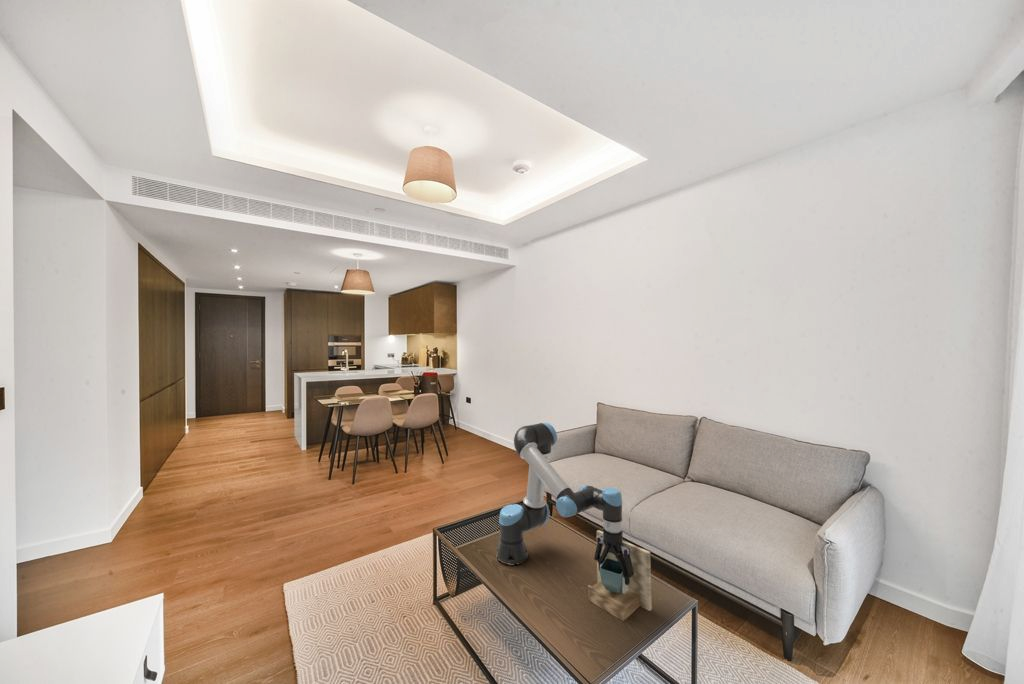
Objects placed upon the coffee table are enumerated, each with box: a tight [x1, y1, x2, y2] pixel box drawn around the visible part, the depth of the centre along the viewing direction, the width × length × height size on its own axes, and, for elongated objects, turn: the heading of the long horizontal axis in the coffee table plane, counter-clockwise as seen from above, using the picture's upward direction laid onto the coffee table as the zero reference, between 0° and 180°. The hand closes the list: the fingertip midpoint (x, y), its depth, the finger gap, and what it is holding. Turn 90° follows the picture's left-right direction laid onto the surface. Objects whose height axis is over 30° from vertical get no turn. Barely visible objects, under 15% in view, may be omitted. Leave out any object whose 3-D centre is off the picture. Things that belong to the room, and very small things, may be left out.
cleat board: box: [587, 529, 653, 622], centre depth 147 cm, size 24×14×22 cm, turn 42°
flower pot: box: [600, 558, 624, 593], centre depth 147 cm, size 9×9×9 cm
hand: (613, 585), depth 147 cm, fingers closed on flower pot, 9 cm apart
